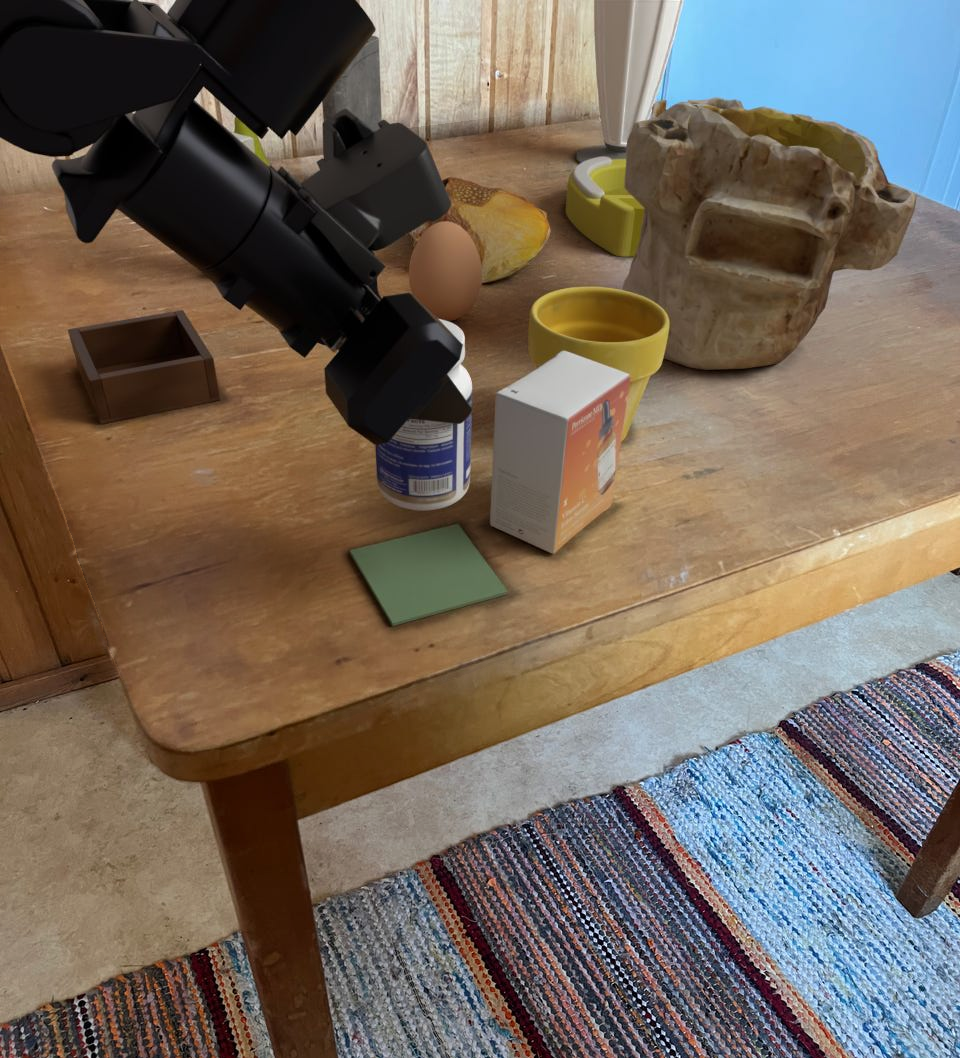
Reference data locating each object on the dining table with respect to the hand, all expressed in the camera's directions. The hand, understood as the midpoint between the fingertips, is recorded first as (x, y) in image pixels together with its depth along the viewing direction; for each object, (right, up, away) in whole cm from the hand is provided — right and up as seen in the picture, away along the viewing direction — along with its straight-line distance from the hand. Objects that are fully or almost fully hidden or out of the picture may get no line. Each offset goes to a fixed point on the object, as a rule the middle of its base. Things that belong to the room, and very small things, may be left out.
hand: (445, 391), depth 57 cm
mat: (-2, -10, +8) cm, 13 cm away
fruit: (-24, +34, +55) cm, 68 cm away
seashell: (+1, +27, +49) cm, 56 cm away
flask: (-13, +37, +59) cm, 71 cm away
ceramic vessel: (+26, +13, +35) cm, 45 cm away
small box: (+7, -6, +14) cm, 17 cm away
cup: (+20, +49, +73) cm, 90 cm away
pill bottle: (-2, -5, +4) cm, 7 cm away
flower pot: (+11, +3, +23) cm, 25 cm away
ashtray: (+20, +34, +57) cm, 70 cm away
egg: (-1, +16, +37) cm, 40 cm away
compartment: (-26, +7, +26) cm, 37 cm away
